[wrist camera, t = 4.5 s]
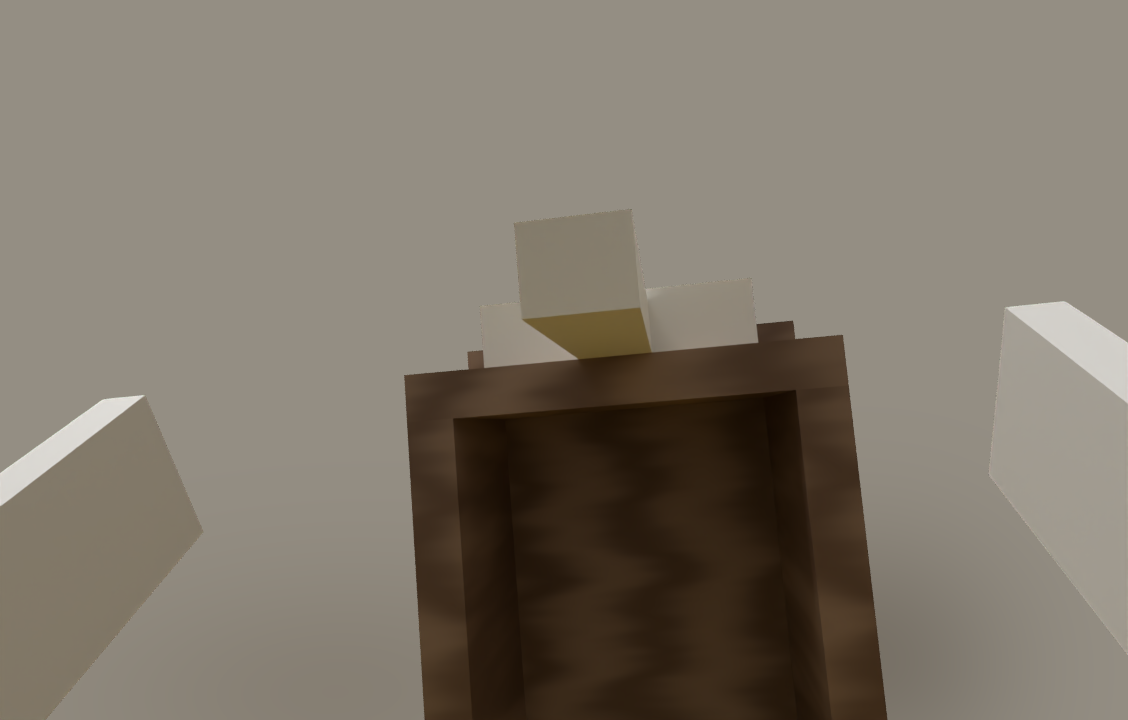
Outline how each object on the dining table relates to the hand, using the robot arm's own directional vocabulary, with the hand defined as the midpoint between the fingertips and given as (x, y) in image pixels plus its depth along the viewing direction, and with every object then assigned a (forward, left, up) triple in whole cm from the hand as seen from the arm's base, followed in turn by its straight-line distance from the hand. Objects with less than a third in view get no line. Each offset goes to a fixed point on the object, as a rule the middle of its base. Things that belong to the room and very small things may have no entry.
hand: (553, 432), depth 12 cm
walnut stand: (0, +25, -27) cm, 37 cm away
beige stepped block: (0, +18, +3) cm, 18 cm away
